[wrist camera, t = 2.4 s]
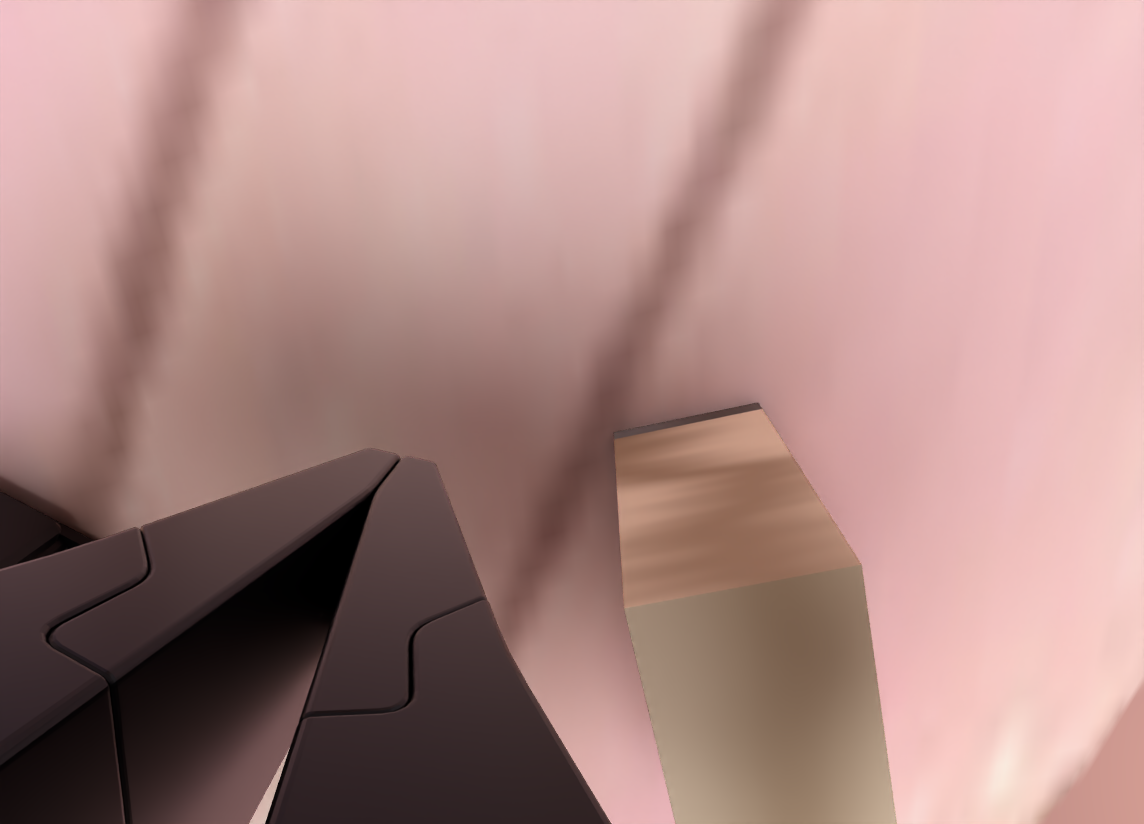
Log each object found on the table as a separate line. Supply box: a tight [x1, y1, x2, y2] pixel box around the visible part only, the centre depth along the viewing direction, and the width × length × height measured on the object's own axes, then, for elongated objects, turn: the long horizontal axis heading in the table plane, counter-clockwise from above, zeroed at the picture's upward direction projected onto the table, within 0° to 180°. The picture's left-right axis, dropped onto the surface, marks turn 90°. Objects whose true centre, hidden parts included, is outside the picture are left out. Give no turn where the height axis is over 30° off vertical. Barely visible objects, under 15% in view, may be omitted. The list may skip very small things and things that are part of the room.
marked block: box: [614, 403, 897, 824], centre depth 19 cm, size 4×10×9 cm, turn 13°
